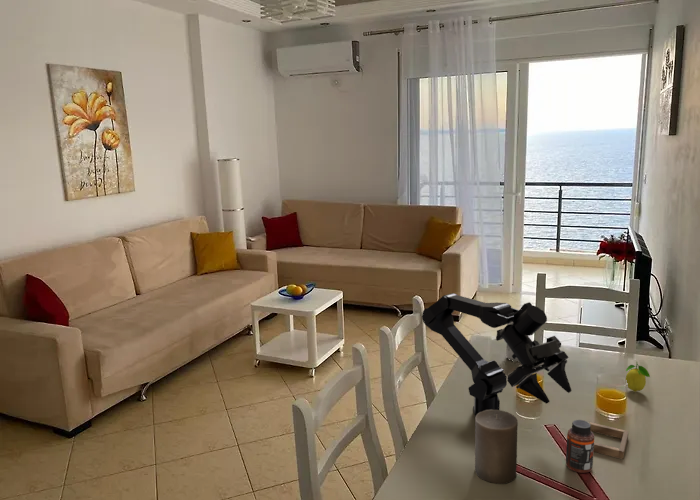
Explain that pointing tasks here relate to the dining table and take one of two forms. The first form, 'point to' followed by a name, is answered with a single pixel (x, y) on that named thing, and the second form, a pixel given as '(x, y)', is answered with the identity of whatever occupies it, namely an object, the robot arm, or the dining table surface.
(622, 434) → the bay
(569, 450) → the supplement bottle
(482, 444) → the pillar candle
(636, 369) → the lemon
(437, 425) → the dining table surface
